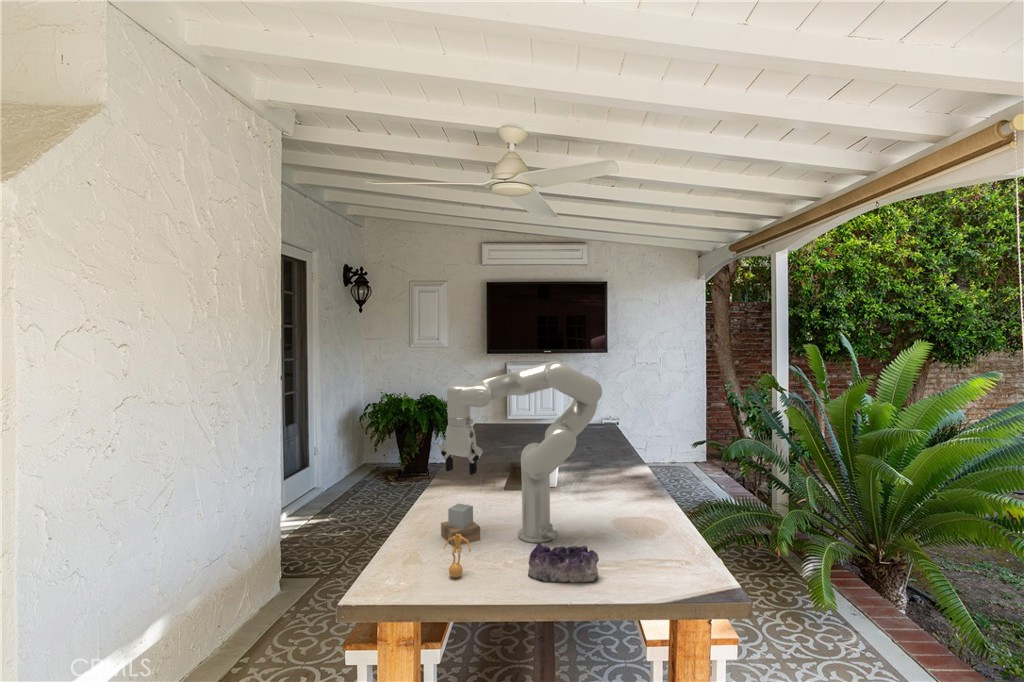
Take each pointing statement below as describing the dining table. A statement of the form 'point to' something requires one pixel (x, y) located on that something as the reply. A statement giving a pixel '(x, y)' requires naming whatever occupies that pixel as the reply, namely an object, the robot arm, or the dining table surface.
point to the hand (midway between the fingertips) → (461, 472)
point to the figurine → (456, 568)
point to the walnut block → (468, 533)
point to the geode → (563, 564)
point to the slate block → (460, 516)
